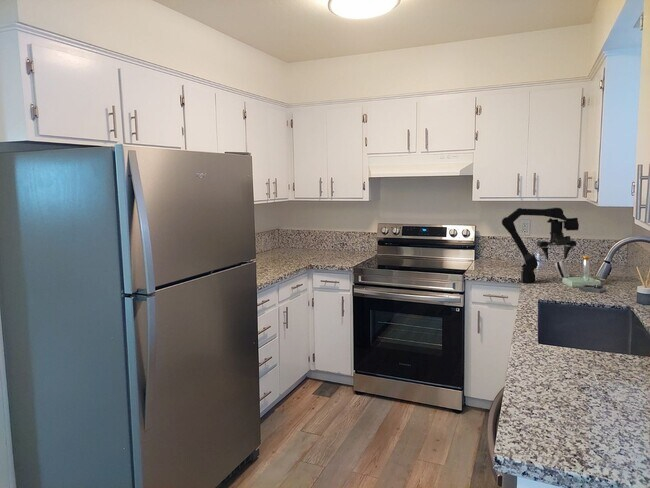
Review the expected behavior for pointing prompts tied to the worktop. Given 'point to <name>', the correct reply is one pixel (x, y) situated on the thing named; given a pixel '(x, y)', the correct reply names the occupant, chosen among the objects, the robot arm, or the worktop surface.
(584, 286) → the tensioner block
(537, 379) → the worktop surface
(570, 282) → the parts tray
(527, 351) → the worktop surface
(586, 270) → the lock pin
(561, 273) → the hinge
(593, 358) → the worktop surface
